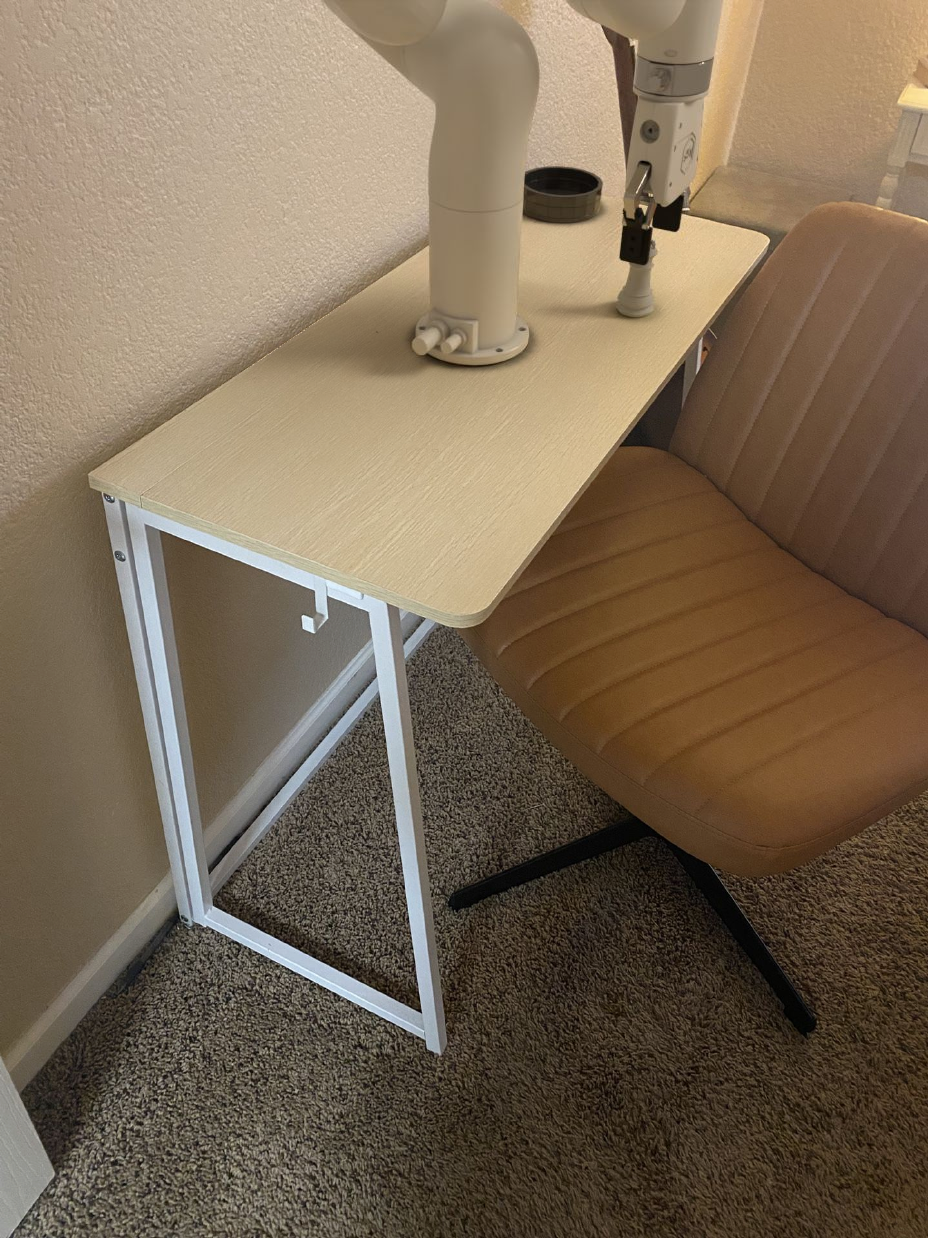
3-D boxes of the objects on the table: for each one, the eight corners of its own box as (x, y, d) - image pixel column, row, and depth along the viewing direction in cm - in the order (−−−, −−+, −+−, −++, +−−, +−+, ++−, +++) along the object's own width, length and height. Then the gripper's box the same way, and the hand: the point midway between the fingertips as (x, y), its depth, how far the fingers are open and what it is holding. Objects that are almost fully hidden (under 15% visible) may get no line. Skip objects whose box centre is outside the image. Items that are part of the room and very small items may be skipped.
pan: (579, 229, 127) (582, 202, 124) (503, 211, 131) (504, 185, 128) (612, 201, 134) (615, 175, 132) (539, 185, 138) (541, 160, 136)
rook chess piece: (623, 320, 108) (633, 252, 103) (609, 303, 111) (618, 235, 106) (659, 316, 109) (671, 248, 104) (644, 299, 112) (654, 232, 107)
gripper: (678, 105, 87) (653, 283, 99) (736, 57, 97) (707, 223, 109) (603, 93, 89) (587, 268, 101) (667, 48, 100) (646, 211, 112)
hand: (649, 244), depth 105 cm, fingers open, 9 cm apart
